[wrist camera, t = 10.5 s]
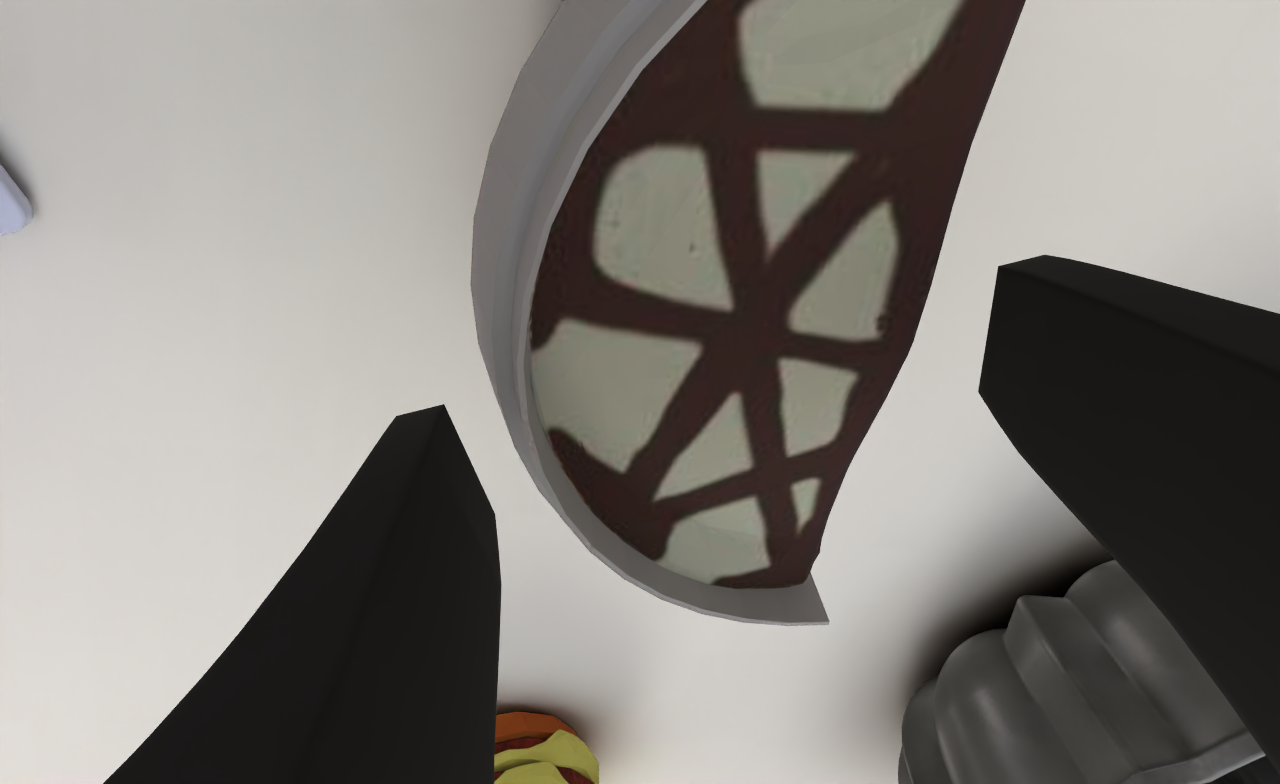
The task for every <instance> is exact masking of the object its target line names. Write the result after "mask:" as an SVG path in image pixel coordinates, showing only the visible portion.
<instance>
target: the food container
mask: <svg viewBox="0 0 1280 784" xmlns="http://www.w3.org/2000/svg"><path fill="white" fill-rule="evenodd" d="M1025 1H1026V0H564V1H563V3H562V4H561V6H560V7H559V9H558V11H557V12H556V14H555V16H554V17H553V19H552V21H551V22H550V24H549V25H548V27H547V29H546V30H545V32H544V34H543V35H542V37H541V39H540V40H539V42H538V43H537V45H536V47H535V48H534V50H533V52H532V53H531V55H530V57H529V58H528V60H527V61H526V63H525V65H524V66H523V68H522V70H521V72H520V74H519V76H518V79H517V81H516V84H515V86H514V89H513V91H512V94H511V96H510V99H509V101H508V103H507V106H506V108H505V111H504V113H503V116H502V118H501V121H500V123H499V125H498V128H497V130H496V133H495V135H494V138H493V140H492V143H491V145H490V149H489V153H488V158H487V162H486V166H485V171H484V175H483V180H482V184H481V189H480V193H479V198H478V202H477V206H476V211H475V215H474V225H473V246H472V266H471V291H472V299H473V306H474V314H475V322H476V329H477V337H478V344H479V347H480V350H481V353H482V356H483V359H484V362H485V365H486V368H487V371H488V374H489V377H490V380H491V384H492V387H493V390H494V393H495V396H496V398H497V401H498V404H499V406H500V409H501V412H502V414H503V417H504V420H505V422H506V425H507V428H508V431H509V433H510V436H511V439H512V441H513V444H514V447H515V448H516V450H517V452H518V454H519V456H520V458H521V459H522V461H523V463H524V465H525V467H526V468H527V470H528V472H529V474H530V476H531V477H532V479H533V481H534V483H535V485H536V487H537V488H538V490H539V491H540V493H541V494H542V495H543V496H544V497H545V499H546V500H547V501H548V502H549V503H550V505H551V506H552V507H553V508H554V509H555V510H556V512H557V513H558V514H559V515H560V517H561V518H562V519H563V521H564V522H565V523H566V524H567V525H568V526H569V528H570V529H571V530H572V531H573V532H574V534H575V535H576V536H577V537H578V538H579V539H580V541H581V542H582V543H583V544H584V545H585V547H586V548H587V549H588V550H589V551H590V552H591V553H592V554H593V555H595V556H596V557H597V558H598V559H600V560H601V561H602V562H603V563H605V564H606V565H607V566H608V567H610V568H611V569H612V570H613V571H615V572H616V573H617V574H618V575H620V576H621V577H622V578H623V579H625V580H627V581H629V582H630V583H632V584H634V585H636V586H638V587H640V588H641V589H643V590H645V591H647V592H649V593H650V594H652V595H654V596H656V597H658V598H660V599H662V600H664V601H667V602H670V603H673V604H675V605H678V606H681V607H684V608H687V609H689V610H692V611H695V612H698V613H701V614H705V615H710V616H715V617H719V618H724V619H729V620H734V621H739V622H744V623H757V624H770V625H784V626H798V625H828V624H829V619H828V617H827V614H826V611H825V609H824V606H823V604H822V601H821V599H820V596H819V593H818V591H817V588H816V586H815V583H814V580H813V578H812V575H811V573H810V571H811V568H812V565H813V563H814V561H815V559H816V558H817V556H818V554H819V553H820V546H821V539H822V536H823V533H824V529H825V526H826V523H827V519H828V516H829V514H830V511H831V509H832V506H833V504H834V501H835V499H836V496H837V494H838V491H839V489H840V487H841V484H842V482H843V479H844V477H845V474H846V472H847V469H848V467H849V465H850V463H851V461H852V459H853V457H854V455H855V453H856V452H857V450H858V448H859V446H860V444H861V443H862V441H863V439H864V437H865V435H866V434H867V432H868V430H869V428H870V426H871V424H872V423H873V421H874V419H875V417H876V415H877V414H878V412H879V410H880V408H881V406H882V405H883V403H884V401H885V399H886V397H887V395H888V393H889V391H890V389H891V387H892V385H893V383H894V381H895V379H896V377H897V375H898V373H899V371H900V369H901V367H902V365H903V363H904V361H905V359H906V358H907V355H908V353H909V351H910V348H911V346H912V343H913V341H914V338H915V334H916V331H917V328H918V325H919V321H920V318H921V315H922V312H923V309H924V306H925V303H926V300H927V297H928V293H929V290H930V287H931V284H932V280H933V276H934V273H935V269H936V265H937V262H938V258H939V254H940V251H941V247H942V243H943V240H944V236H945V232H946V229H947V225H948V221H949V218H950V214H951V210H952V207H953V203H954V200H955V197H956V193H957V190H958V187H959V184H960V180H961V177H962V174H963V170H964V167H965V164H966V161H967V157H968V154H969V151H970V147H971V144H972V141H973V139H974V136H975V133H976V131H977V128H978V126H979V123H980V120H981V118H982V115H983V112H984V110H985V107H986V104H987V102H988V99H989V96H990V94H991V91H992V88H993V86H994V83H995V81H996V78H997V75H998V73H999V70H1000V67H1001V65H1002V62H1003V59H1004V57H1005V54H1006V51H1007V49H1008V46H1009V43H1010V41H1011V38H1012V35H1013V33H1014V30H1015V28H1016V25H1017V22H1018V20H1019V17H1020V14H1021V12H1022V9H1023V6H1024V4H1025Z"/></svg>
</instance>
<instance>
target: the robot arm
mask: <svg viewBox="0 0 1280 784" xmlns="http://www.w3.org/2000/svg"><path fill="white" fill-rule="evenodd" d="M32 218H33V208H32V206H31V204H30V203H29V201H28V199H27V198H26V197H25V195H24V194H23V193H22V191H21V190H20V189H19V187H18V186H17V185H16V184H15V182H14V181H13V180H12V178H11V177H10V176H9V174H8V173H7V172H6V170H5V169H4V168H3V166H2V165H1V164H0V235H4V234H9V233H13V232H16V231H18V230H20V229H22V228H23V227H25V226H26V225H28V224H29V223H30V222H31V220H32ZM978 392H979V394H980V395H981V397H982V399H983V400H984V402H985V403H986V405H987V406H988V408H989V410H990V411H991V413H992V414H993V416H994V417H995V419H996V421H997V422H998V424H999V425H1000V427H1001V428H1002V429H1003V431H1004V432H1005V434H1006V435H1007V437H1008V438H1009V439H1010V441H1011V442H1012V444H1013V445H1014V447H1015V448H1016V449H1017V451H1018V452H1019V453H1020V455H1021V456H1022V457H1023V458H1024V459H1025V460H1026V462H1027V463H1028V464H1029V465H1030V466H1031V467H1032V468H1033V470H1034V471H1035V472H1036V473H1037V474H1038V475H1039V476H1040V477H1041V479H1042V480H1043V481H1044V482H1045V483H1046V484H1047V485H1048V486H1049V488H1050V489H1051V490H1052V491H1053V492H1054V493H1055V494H1056V495H1057V496H1058V498H1059V499H1060V500H1061V501H1062V502H1063V503H1064V504H1065V505H1066V506H1067V508H1068V509H1069V510H1070V511H1071V512H1072V513H1073V514H1074V515H1075V516H1076V517H1077V518H1078V520H1079V521H1080V522H1081V523H1082V524H1083V525H1084V526H1085V527H1086V528H1087V529H1088V531H1089V532H1090V533H1091V534H1092V535H1093V536H1094V537H1095V538H1096V539H1097V540H1098V541H1099V543H1100V544H1101V545H1102V546H1103V547H1104V548H1105V549H1106V550H1107V551H1108V552H1109V554H1110V555H1111V556H1112V557H1113V558H1114V559H1115V560H1116V561H1117V562H1118V563H1119V565H1120V566H1121V567H1122V568H1123V569H1124V570H1125V571H1126V572H1127V573H1128V574H1129V575H1130V577H1131V578H1132V579H1133V580H1134V581H1135V582H1136V583H1137V584H1138V585H1139V586H1140V588H1141V589H1142V590H1143V591H1144V592H1145V593H1146V595H1147V596H1148V597H1149V598H1150V599H1151V601H1152V602H1153V603H1154V604H1155V605H1156V607H1157V608H1158V609H1159V610H1160V611H1161V612H1162V614H1163V615H1164V616H1165V617H1166V618H1167V620H1168V621H1169V622H1170V623H1171V625H1172V626H1173V627H1174V629H1175V630H1176V631H1177V633H1178V634H1179V635H1180V637H1181V638H1182V639H1183V641H1184V642H1185V643H1186V645H1187V646H1188V648H1189V649H1190V650H1191V652H1192V653H1193V654H1194V656H1195V657H1196V658H1197V660H1198V661H1199V662H1200V664H1201V665H1202V666H1203V668H1204V669H1205V670H1206V672H1207V673H1208V674H1209V676H1210V677H1211V678H1212V680H1213V681H1214V682H1215V684H1216V685H1217V687H1218V688H1219V689H1220V691H1221V692H1222V693H1223V695H1224V696H1225V697H1226V699H1227V700H1228V702H1229V703H1230V705H1231V706H1232V707H1233V709H1234V710H1235V712H1236V713H1237V715H1238V716H1239V717H1240V719H1241V720H1242V722H1243V723H1244V725H1245V726H1246V727H1247V729H1248V730H1249V732H1250V733H1251V735H1252V736H1253V738H1254V739H1255V740H1256V742H1257V743H1258V745H1259V746H1260V748H1261V749H1262V750H1263V752H1264V753H1265V755H1266V756H1267V758H1268V759H1269V760H1270V762H1271V763H1272V765H1273V766H1274V768H1275V769H1276V771H1277V772H1278V773H1279V775H1280V314H1278V313H1274V312H1271V311H1267V310H1263V309H1259V308H1255V307H1251V306H1248V305H1244V304H1240V303H1236V302H1233V301H1229V300H1225V299H1221V298H1218V297H1214V296H1210V295H1206V294H1203V293H1199V292H1195V291H1192V290H1188V289H1184V288H1181V287H1177V286H1173V285H1170V284H1166V283H1162V282H1158V281H1155V280H1151V279H1147V278H1144V277H1140V276H1136V275H1132V274H1129V273H1125V272H1121V271H1117V270H1113V269H1109V268H1105V267H1101V266H1097V265H1093V264H1089V263H1084V262H1080V261H1075V260H1071V259H1066V258H1060V257H1054V256H1049V255H1042V256H1038V257H1034V258H1030V259H1026V260H1022V261H1018V262H1014V263H1010V264H1006V265H1002V266H998V272H997V278H996V285H995V291H994V297H993V303H992V310H991V316H990V322H989V328H988V334H987V341H986V347H985V353H984V359H983V365H982V372H981V378H980V384H979V390H978ZM500 610H501V575H500V562H499V550H498V539H497V529H496V519H495V513H494V511H493V509H492V507H491V505H490V502H489V500H488V498H487V496H486V494H485V492H484V489H483V487H482V485H481V483H480V481H479V479H478V477H477V474H476V472H475V470H474V468H473V466H472V464H471V461H470V459H469V457H468V455H467V453H466V451H465V448H464V446H463V444H462V442H461V440H460V438H459V436H458V433H457V431H456V429H455V427H454V425H453V423H452V420H451V418H450V416H449V414H448V412H447V410H446V407H445V405H444V404H443V405H439V406H435V407H431V408H427V409H423V410H419V411H415V412H411V413H407V414H403V415H399V416H396V417H395V419H394V420H393V421H392V423H391V424H390V425H389V427H388V428H387V429H386V431H385V432H384V434H383V435H382V437H381V438H380V440H379V441H378V442H377V444H376V445H375V447H374V448H373V450H372V451H371V453H370V454H369V456H368V457H367V459H366V460H365V462H364V463H363V465H362V466H361V468H360V469H359V471H358V472H357V474H356V475H355V476H354V478H353V479H352V481H351V482H350V484H349V485H348V487H347V488H346V490H345V491H344V493H343V494H342V495H341V497H340V498H339V500H338V501H337V503H336V504H335V505H334V507H333V508H332V510H331V511H330V513H329V514H328V515H327V517H326V518H325V520H324V521H323V523H322V524H321V525H320V527H319V528H318V530H317V531H316V533H315V534H314V536H313V537H312V538H311V540H310V541H309V543H308V544H307V545H306V547H305V548H304V550H303V551H302V552H301V553H300V555H299V556H298V557H297V559H296V560H295V561H294V563H293V564H292V565H291V566H290V568H289V569H288V570H287V572H286V573H285V574H284V576H283V577H282V578H281V579H280V581H279V582H278V583H277V585H276V586H275V587H274V589H273V590H272V591H271V593H270V594H269V595H268V596H267V598H266V599H265V600H264V602H263V603H262V604H261V606H260V607H259V608H258V609H257V611H256V612H255V613H254V615H253V616H252V617H251V619H250V620H249V621H248V622H247V624H246V625H245V626H244V628H243V629H242V630H241V631H240V633H239V634H238V635H237V636H236V637H235V639H234V640H233V641H232V642H231V644H230V645H229V646H228V647H227V648H226V650H225V651H224V652H223V653H222V654H221V656H220V657H219V658H218V659H217V660H216V661H215V663H214V664H213V665H212V666H211V667H210V668H209V670H208V671H207V672H206V673H205V674H204V676H203V677H202V678H201V679H200V680H199V681H198V682H197V683H196V685H195V686H194V687H193V688H192V689H191V690H190V691H189V692H188V694H187V695H186V696H185V697H184V698H183V699H182V700H181V701H180V702H179V704H178V705H177V706H176V707H175V708H174V709H173V710H172V711H171V713H170V714H169V715H168V716H167V717H166V718H165V719H164V720H163V721H162V723H161V724H160V725H159V726H158V727H157V728H156V729H155V730H154V731H153V733H152V734H151V735H150V736H149V737H148V738H147V739H146V740H145V741H144V742H143V743H142V744H141V745H140V746H139V748H138V749H137V750H136V751H135V752H134V753H133V754H132V755H131V756H130V757H129V758H128V759H127V760H126V761H125V762H124V763H123V764H122V765H121V766H120V767H119V768H118V769H117V770H116V771H115V772H114V773H113V774H112V775H111V776H110V777H109V778H108V779H107V780H106V781H105V782H104V783H103V784H494V755H495V732H496V708H497V685H498V662H499V637H500Z"/></svg>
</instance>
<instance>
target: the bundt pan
mask: <svg viewBox="0 0 1280 784" xmlns="http://www.w3.org/2000/svg"><path fill="white" fill-rule="evenodd" d="M898 781H899V784H1280V775H1279V773H1278V772H1277V771H1276V769H1275V768H1274V766H1273V765H1272V763H1271V762H1270V760H1269V759H1268V758H1267V756H1266V755H1265V753H1264V752H1263V750H1262V749H1261V748H1260V746H1259V745H1258V743H1257V742H1256V740H1255V739H1254V738H1253V736H1252V735H1251V733H1250V732H1249V730H1248V729H1247V727H1246V726H1245V725H1244V723H1243V722H1242V720H1241V719H1240V717H1239V716H1238V715H1237V713H1236V712H1235V710H1234V709H1233V707H1232V706H1231V705H1230V703H1229V702H1228V700H1227V699H1226V697H1225V696H1224V695H1223V693H1222V692H1221V691H1220V689H1219V688H1218V687H1217V685H1216V684H1215V682H1214V681H1213V680H1212V678H1211V677H1210V676H1209V674H1208V673H1207V672H1206V670H1205V669H1204V668H1203V666H1202V665H1201V664H1200V662H1199V661H1198V660H1197V658H1196V657H1195V656H1194V654H1193V653H1192V652H1191V650H1190V649H1189V648H1188V646H1187V645H1186V643H1185V642H1184V641H1183V639H1182V638H1181V637H1180V635H1179V634H1178V633H1177V631H1176V630H1175V629H1174V627H1173V626H1172V625H1171V623H1170V622H1169V621H1168V620H1167V618H1166V617H1165V616H1164V615H1163V614H1162V612H1161V611H1160V610H1159V609H1158V608H1157V607H1156V605H1155V604H1154V603H1153V602H1152V601H1151V599H1150V598H1149V597H1148V596H1147V595H1146V593H1145V592H1144V591H1143V590H1142V589H1141V588H1140V586H1139V585H1138V584H1137V583H1136V582H1135V581H1134V580H1133V579H1132V578H1131V577H1130V575H1129V574H1128V573H1127V572H1126V571H1125V570H1124V569H1123V568H1122V567H1121V566H1120V565H1119V563H1118V562H1117V561H1116V560H1112V561H1109V562H1106V563H1103V564H1100V565H1098V566H1096V567H1094V568H1092V569H1090V570H1088V571H1087V572H1086V573H1084V574H1083V575H1082V576H1080V577H1079V578H1078V579H1077V580H1076V581H1075V582H1074V583H1073V585H1072V586H1071V587H1070V588H1069V590H1068V591H1067V593H1066V594H1065V596H1064V598H1060V597H1048V596H1035V595H1023V596H1021V597H1019V598H1018V600H1017V602H1016V605H1015V608H1014V610H1013V613H1012V616H1011V619H1010V622H1009V624H1008V627H1007V629H993V630H989V631H985V632H982V633H979V634H977V635H974V636H972V637H971V638H969V639H967V640H965V641H964V642H963V643H961V644H960V645H959V646H958V647H957V648H956V649H955V650H954V651H953V652H952V653H951V654H950V656H949V657H948V659H947V660H946V662H945V664H944V665H943V667H942V669H941V672H940V674H939V675H938V676H936V677H933V678H932V679H930V680H928V681H926V682H925V683H924V684H923V685H922V686H920V687H919V688H918V689H917V690H916V692H915V693H914V694H913V696H912V697H911V699H910V701H909V702H908V704H907V706H906V710H905V713H904V716H903V723H902V748H901V753H900V758H899V767H898Z"/></svg>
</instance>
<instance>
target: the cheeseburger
mask: <svg viewBox="0 0 1280 784" xmlns="http://www.w3.org/2000/svg"><path fill="white" fill-rule="evenodd" d="M494 784H599V764H598V761H597V760H596V758H595V757H594V755H593V754H592V752H591V751H590V749H589V748H588V747H587V745H586V744H585V743H584V742H583V741H582V740H580V739H579V738H578V736H577V734H576V732H575V731H574V730H573V729H572V728H570V727H569V726H567V725H566V724H565V723H563V722H562V721H560V720H559V719H557V718H556V717H555V716H551V715H543V714H535V713H527V712H511V713H505V714H500V715H496V732H495V755H494Z"/></svg>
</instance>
